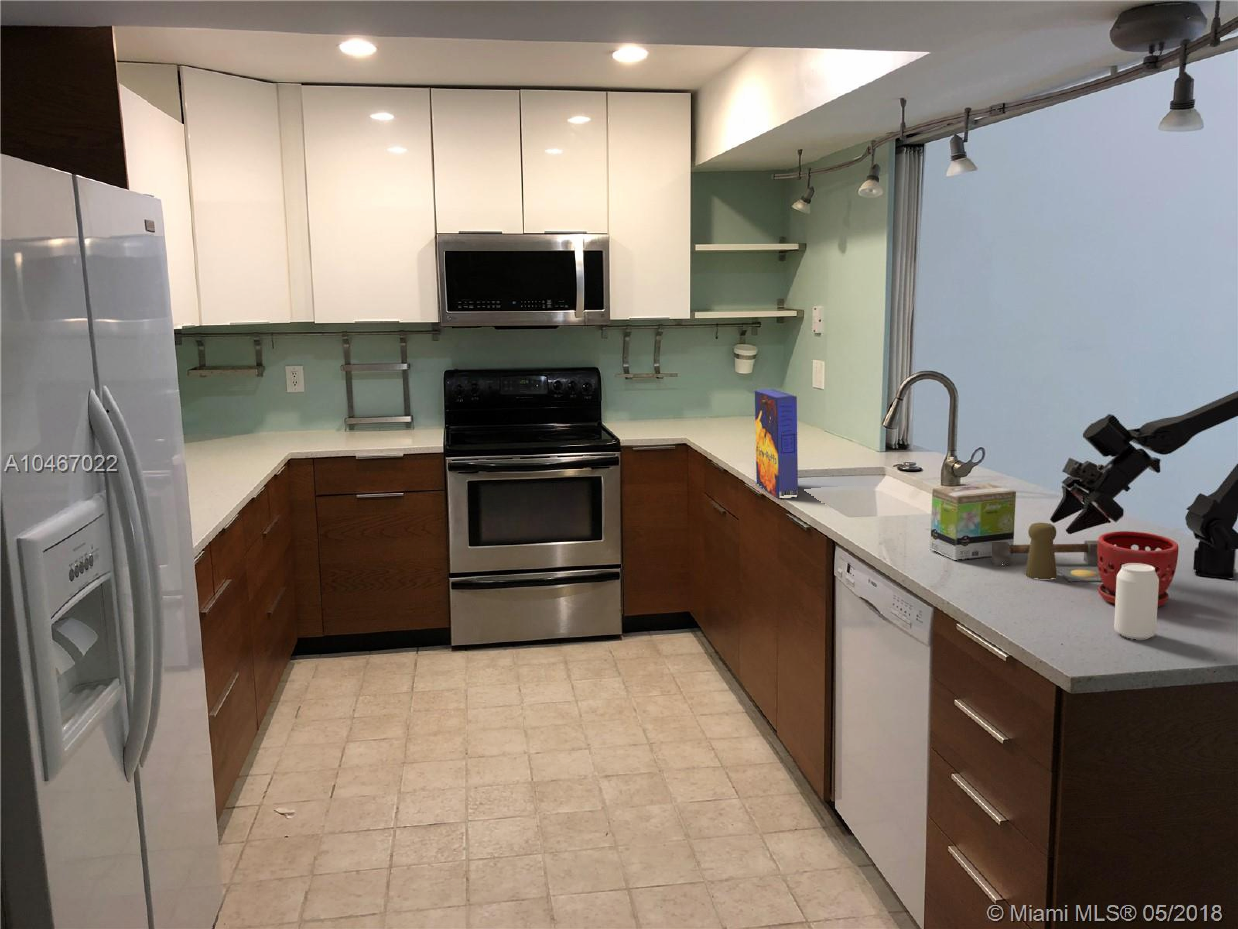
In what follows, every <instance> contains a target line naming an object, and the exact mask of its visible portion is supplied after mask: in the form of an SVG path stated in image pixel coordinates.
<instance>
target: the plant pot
mask: <svg viewBox="0 0 1238 929" xmlns="http://www.w3.org/2000/svg"><path fill="white" fill-rule="evenodd" d="M1097 541H1098V545H1097V555H1098V564H1097V567H1098V571H1099V575H1100V578H1101V580H1102V582H1101V584H1099V586H1098V587H1097V592H1098V594H1099V595H1100V597H1102V598H1103V599H1104V600H1105V601H1107V602H1109V603H1111V604H1114V605H1115V600H1116V580H1117V574H1118V573H1119V571H1120V570H1121V568H1122V565H1123V564H1127V563H1141V564H1147V565H1150V566H1153V567H1154V568H1155V572H1156V574H1157V576H1158V578H1159V589H1158V606H1157V608H1158V607H1161V606H1163V605H1164V604H1166V603H1167V602H1168V601H1169V597H1170V595H1169V593H1168V592H1167V590H1168V589H1169V587H1170V585H1171V584H1172V581H1173V579H1174V577H1175V573H1176V569H1177V566H1178V557H1179V544H1178V543H1177V541H1175V540H1173V539H1172V538H1171V539H1170V538H1169V537H1165V536H1162V535H1158V534H1154V533H1147V532H1143V531H1142V532H1139V531H1129V530H1123V531H1121V530H1120V531H1118V530H1117V531H1109V532H1107V533H1106V532H1105V533H1103V534H1101V535H1099V537H1098V538H1097ZM1133 546H1136V547H1137V548H1138V549H1132V547H1133ZM1146 548H1149V549H1150V550H1146ZM1157 549H1160V550H1157ZM1102 559H1103V561H1102Z"/></svg>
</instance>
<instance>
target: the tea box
mask: <svg viewBox="0 0 1238 929" xmlns="http://www.w3.org/2000/svg"><path fill="white" fill-rule="evenodd" d="M1016 500H1017V492H1016V491H1015V490H1014V489H1013V490H1012V489H1009V488H1006V487H1002V486H999V485H995V484H992V483H980V484H969V485H968V484H967V485H958V486H957V485H956V486H946V487H937V488H936V487H935V488H932V498H931V515H930V516H931V518H930V544H929V545H930V547H929V548H932V549H934V550H936V551H939V552H941V553H942V554H944V555H948V556H949V557H951V558H954V559H962V560H965V559H964V558H969V559H977V558H986V557H992V542H1007V543H1008V544H1009V545H1014V543H1015V541H1014V539H1015V522H1016V521H1015V518H1016V504H1017V503H1016ZM1012 554H1013V553H1010V555H1012Z"/></svg>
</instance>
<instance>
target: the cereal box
mask: <svg viewBox="0 0 1238 929" xmlns="http://www.w3.org/2000/svg"><path fill="white" fill-rule="evenodd" d="M797 398H798V396H797V395H793V394H789V393H787V392H782V391H780V390H775V389H769V388H768V389H767V388H764V389H758V390H754V417H755V418H754V419H755V422H754V423H755V424H754V425H755V426H754V427H755V465H756V466H755V471H756V472H755V473H756V479H755V480H756V484H757V483H758V484H759V486H762V488H761V489H762V490H763V488H764V489H765V490H764V491H765V492H767V493H768V494H770V495H771V496H773V498H776V499H777V500H780V499H779V497H780V496H784V495H798V496H799V481H798V480H799V477H798V476H799V475H798V473H799V472H798V470H799V469H798V468H799V466H798V462H799V461H798V459H799V458H798V399H797ZM759 486H758V487H759Z"/></svg>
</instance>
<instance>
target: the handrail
mask: <svg viewBox="0 0 1238 929" xmlns="http://www.w3.org/2000/svg"><path fill="white" fill-rule="evenodd" d="M1053 544H1054V553H1057V554H1058V553H1059V554H1060V553H1063V554H1064V553H1065V554H1066V553H1068V554H1069V553H1083V561H1084V562H1085V563H1086V564H1087V565H1090V566H1091V565H1098V555H1097V545H1098V540H1084V543H1056V544H1055V543H1053ZM1029 549H1030V544H1013V545H1009V544H1008V543H1007V542H992V556H991V562H992V561H993V562H994V564H995V565H1002V564H1003V565H1005V566H1011V554H1010V553H1012V554H1029ZM1102 561H1103V559H1102ZM994 564H993V565H994ZM995 565H994V566H995Z"/></svg>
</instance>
